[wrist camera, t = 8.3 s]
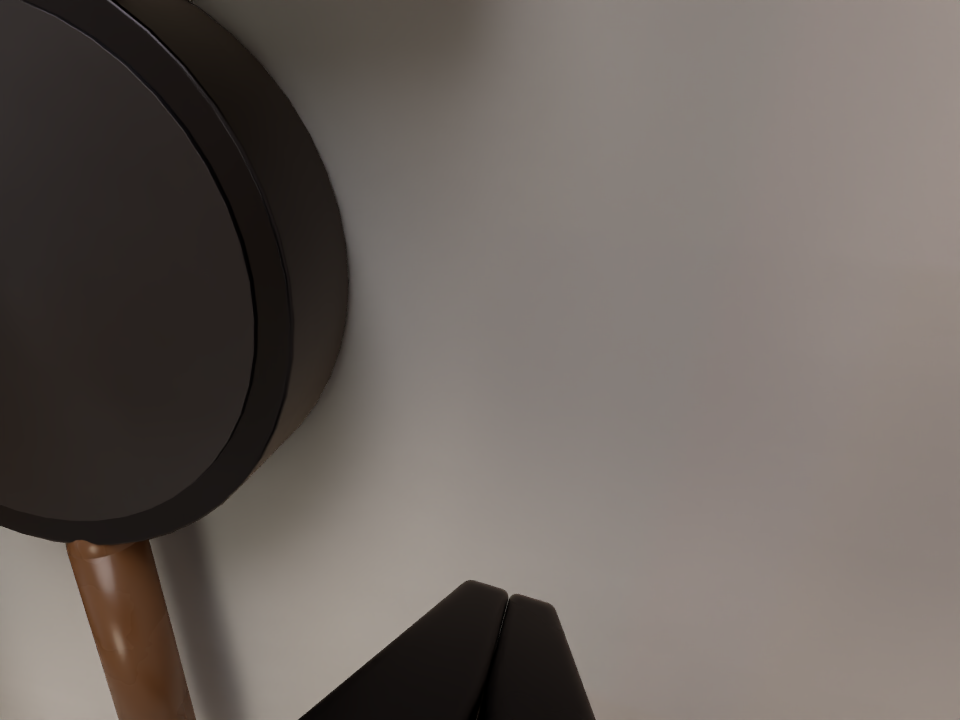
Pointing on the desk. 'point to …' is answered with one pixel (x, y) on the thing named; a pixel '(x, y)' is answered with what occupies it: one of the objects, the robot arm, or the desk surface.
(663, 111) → the desk surface
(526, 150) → the desk surface
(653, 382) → the desk surface
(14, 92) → the pan
